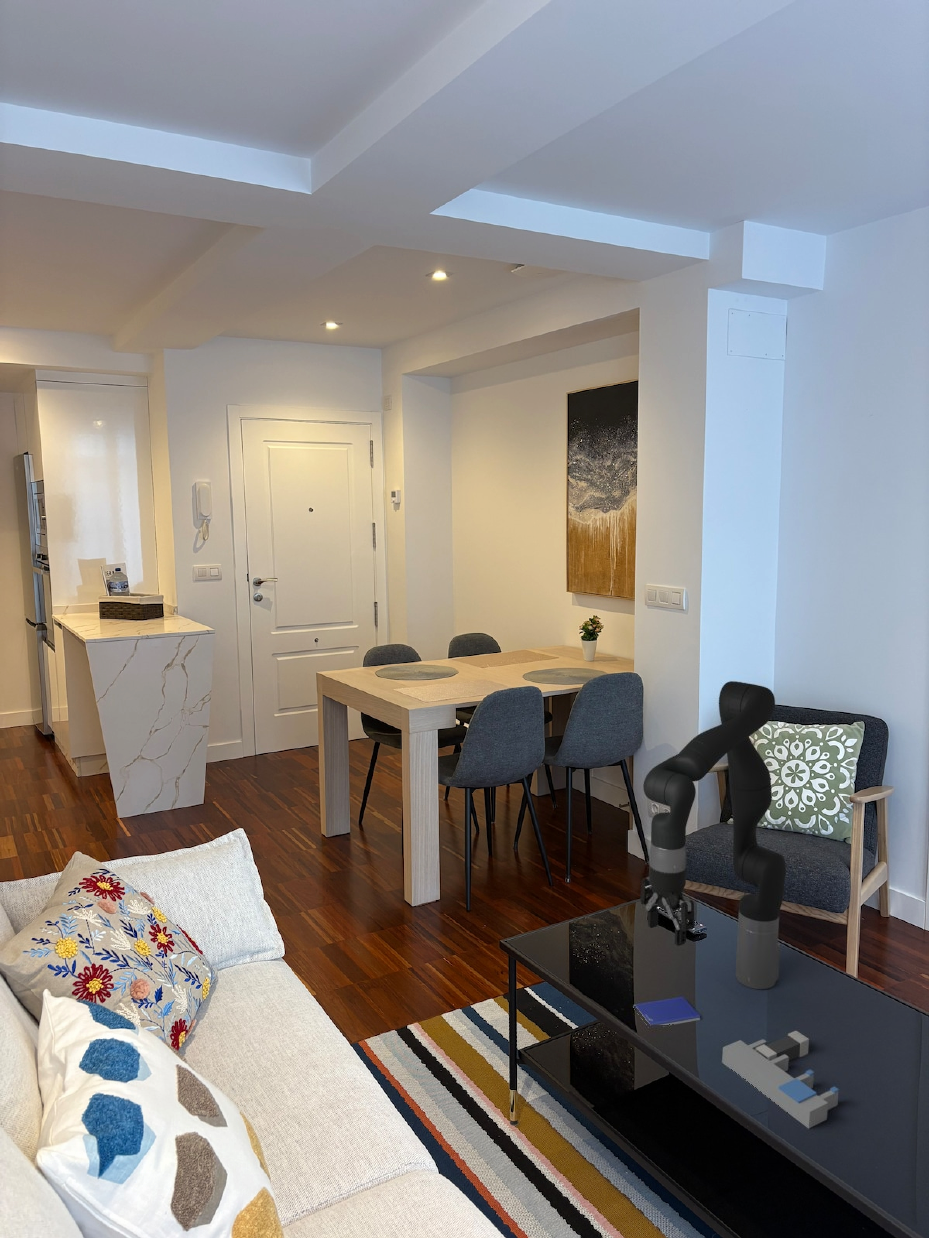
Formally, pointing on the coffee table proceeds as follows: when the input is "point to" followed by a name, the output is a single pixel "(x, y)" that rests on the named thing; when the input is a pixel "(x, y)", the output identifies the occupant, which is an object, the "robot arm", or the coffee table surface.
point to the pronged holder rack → (780, 1082)
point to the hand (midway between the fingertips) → (666, 935)
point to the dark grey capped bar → (786, 1047)
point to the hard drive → (668, 1011)
